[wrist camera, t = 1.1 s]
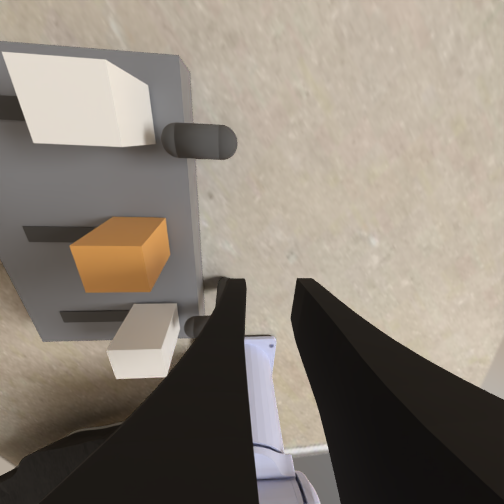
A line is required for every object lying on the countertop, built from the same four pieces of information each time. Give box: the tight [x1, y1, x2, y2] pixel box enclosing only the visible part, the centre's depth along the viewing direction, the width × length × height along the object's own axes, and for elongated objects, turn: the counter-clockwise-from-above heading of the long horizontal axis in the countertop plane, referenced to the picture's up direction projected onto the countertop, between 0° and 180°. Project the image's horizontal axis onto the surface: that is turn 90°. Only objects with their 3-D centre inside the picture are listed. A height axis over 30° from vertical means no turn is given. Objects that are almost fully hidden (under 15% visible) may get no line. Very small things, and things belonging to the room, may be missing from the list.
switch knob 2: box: [106, 303, 180, 379], centre depth 15 cm, size 2×3×4 cm
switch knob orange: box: [70, 217, 170, 293], centre depth 12 cm, size 2×3×4 cm
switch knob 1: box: [2, 52, 156, 147], centre depth 9 cm, size 2×3×4 cm
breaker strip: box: [0, 41, 205, 342], centre depth 15 cm, size 18×12×3 cm, turn 177°
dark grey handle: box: [161, 122, 237, 338], centre depth 15 cm, size 12×3×6 cm, turn 177°
